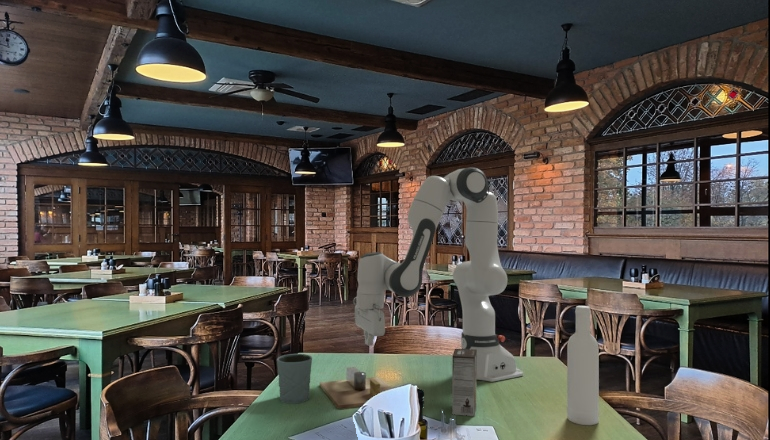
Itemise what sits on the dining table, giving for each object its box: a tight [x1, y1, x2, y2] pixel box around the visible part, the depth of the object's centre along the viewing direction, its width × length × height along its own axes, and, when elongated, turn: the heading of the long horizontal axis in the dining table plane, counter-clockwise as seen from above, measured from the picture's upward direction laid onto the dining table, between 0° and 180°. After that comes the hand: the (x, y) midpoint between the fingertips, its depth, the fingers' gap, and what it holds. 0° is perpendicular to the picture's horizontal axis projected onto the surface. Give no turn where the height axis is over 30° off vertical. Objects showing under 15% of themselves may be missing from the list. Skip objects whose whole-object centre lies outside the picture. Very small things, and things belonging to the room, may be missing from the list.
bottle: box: [566, 305, 600, 426], centre depth 138 cm, size 8×8×30 cm
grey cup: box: [276, 353, 313, 404], centre depth 154 cm, size 10×10×12 cm
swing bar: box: [345, 366, 367, 390], centre depth 164 cm, size 12×4×5 cm, turn 20°
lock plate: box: [319, 376, 393, 410], centre depth 159 cm, size 20×23×5 cm
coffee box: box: [451, 348, 477, 417], centre depth 145 cm, size 9×6×16 cm
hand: (368, 344), depth 169 cm, fingers closed
